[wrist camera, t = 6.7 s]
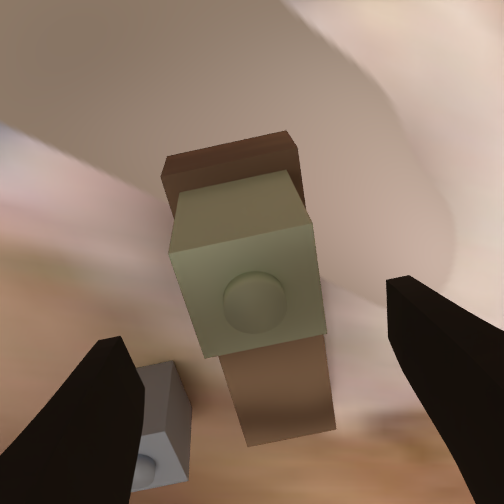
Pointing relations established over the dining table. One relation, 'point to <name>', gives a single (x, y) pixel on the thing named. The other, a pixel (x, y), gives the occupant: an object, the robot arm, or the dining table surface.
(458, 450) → the robot arm
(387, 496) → the dining table surface
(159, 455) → the slate block
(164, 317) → the dining table surface
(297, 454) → the dining table surface
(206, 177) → the walnut base brick
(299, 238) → the sage block
